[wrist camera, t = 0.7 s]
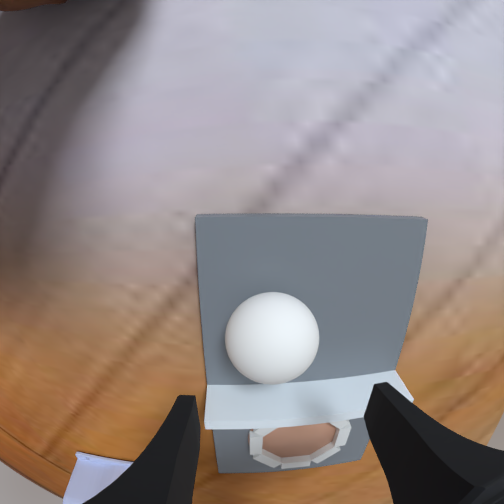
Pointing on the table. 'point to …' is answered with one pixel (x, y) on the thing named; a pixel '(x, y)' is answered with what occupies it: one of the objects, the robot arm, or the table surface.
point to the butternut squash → (25, 4)
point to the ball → (272, 338)
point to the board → (329, 324)
